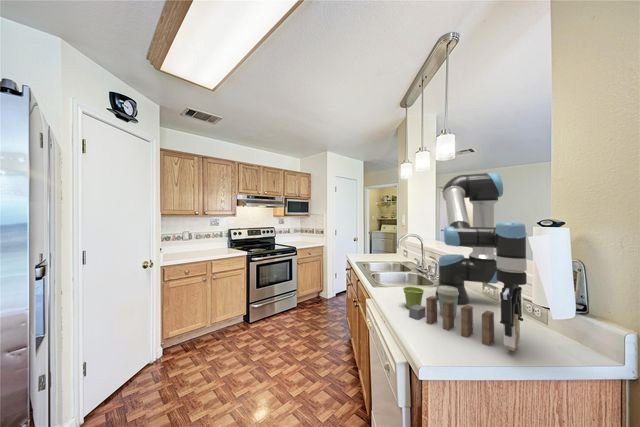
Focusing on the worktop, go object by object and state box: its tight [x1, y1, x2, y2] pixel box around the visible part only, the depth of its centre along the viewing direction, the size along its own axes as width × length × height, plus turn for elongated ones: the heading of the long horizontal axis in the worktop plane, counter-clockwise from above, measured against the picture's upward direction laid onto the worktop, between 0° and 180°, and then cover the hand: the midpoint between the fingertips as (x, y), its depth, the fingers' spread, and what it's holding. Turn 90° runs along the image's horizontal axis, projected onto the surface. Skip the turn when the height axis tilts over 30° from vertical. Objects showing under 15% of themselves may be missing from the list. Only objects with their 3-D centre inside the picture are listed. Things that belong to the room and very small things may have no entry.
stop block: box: [408, 305, 426, 321], centre depth 100 cm, size 6×4×4 cm, turn 127°
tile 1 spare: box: [505, 314, 519, 352], centre depth 74 cm, size 5×2×10 cm, turn 127°
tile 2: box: [481, 310, 495, 347], centre depth 79 cm, size 5×2×10 cm, turn 127°
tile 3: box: [460, 304, 474, 339], centre depth 84 cm, size 5×2×10 cm, turn 127°
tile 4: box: [442, 300, 455, 332], centre depth 90 cm, size 5×2×10 cm, turn 127°
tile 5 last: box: [425, 295, 438, 325], centre depth 95 cm, size 5×2×10 cm, turn 127°
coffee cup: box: [436, 286, 459, 319], centre depth 101 cm, size 8×8×12 cm
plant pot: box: [402, 286, 425, 309], centre depth 110 cm, size 9×9×9 cm
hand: (512, 342), depth 74 cm, fingers closed on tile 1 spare, 5 cm apart
